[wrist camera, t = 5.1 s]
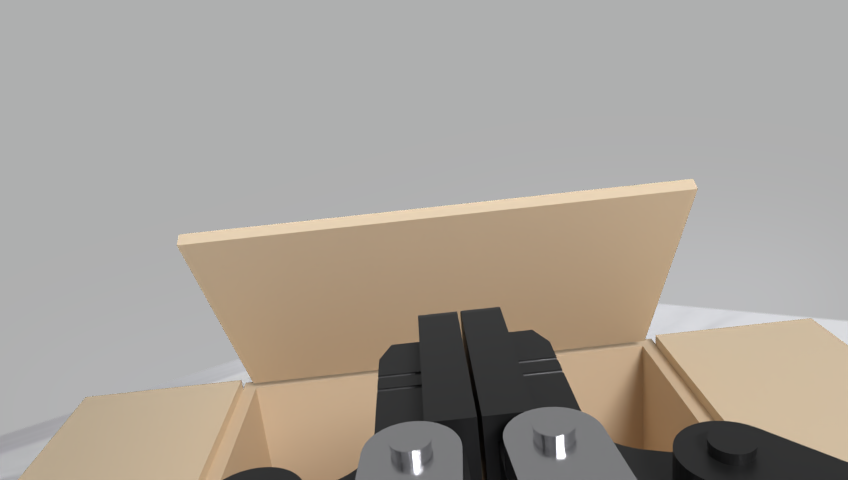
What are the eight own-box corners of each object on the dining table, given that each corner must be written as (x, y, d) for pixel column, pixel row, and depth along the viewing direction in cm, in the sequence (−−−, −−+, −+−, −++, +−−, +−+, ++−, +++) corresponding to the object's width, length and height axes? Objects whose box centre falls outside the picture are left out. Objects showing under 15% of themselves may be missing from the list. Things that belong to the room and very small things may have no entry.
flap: (253, 383, 26) (176, 245, 20) (254, 373, 27) (178, 234, 20) (644, 340, 26) (697, 188, 20) (641, 331, 27) (693, 178, 20)
